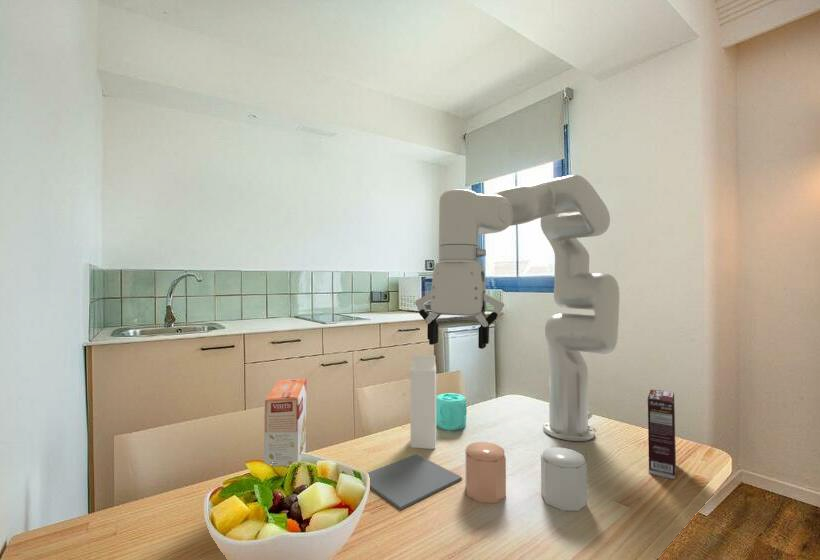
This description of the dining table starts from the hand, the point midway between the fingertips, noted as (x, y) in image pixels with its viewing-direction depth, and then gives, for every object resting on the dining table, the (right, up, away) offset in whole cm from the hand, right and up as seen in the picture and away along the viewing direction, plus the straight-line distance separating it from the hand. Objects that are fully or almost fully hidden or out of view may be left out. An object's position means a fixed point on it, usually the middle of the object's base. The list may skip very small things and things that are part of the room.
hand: (457, 345), depth 73 cm
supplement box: (+45, -28, +9) cm, 54 cm away
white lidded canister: (+19, -28, -2) cm, 34 cm away
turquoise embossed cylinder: (+3, -29, +35) cm, 45 cm away
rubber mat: (-9, -28, +5) cm, 30 cm away
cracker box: (-32, -28, -2) cm, 43 cm away
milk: (-6, -28, +23) cm, 37 cm away
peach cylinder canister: (+5, -28, 0) cm, 29 cm away
